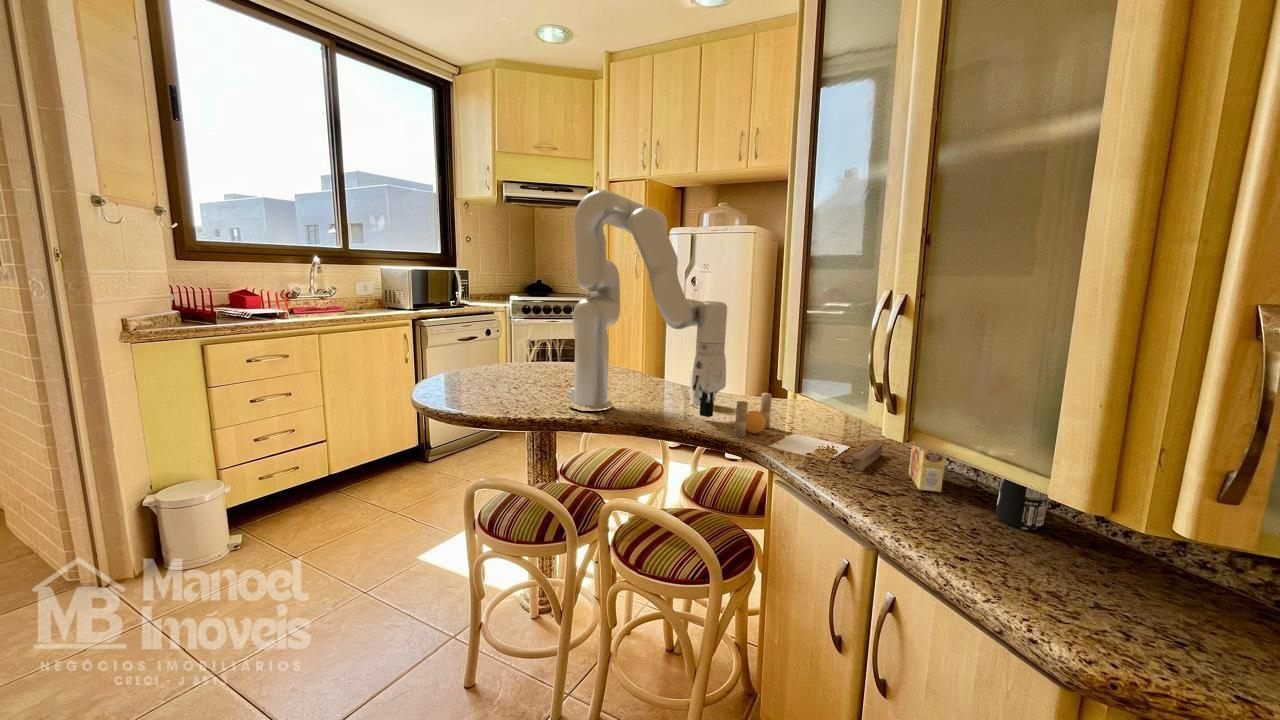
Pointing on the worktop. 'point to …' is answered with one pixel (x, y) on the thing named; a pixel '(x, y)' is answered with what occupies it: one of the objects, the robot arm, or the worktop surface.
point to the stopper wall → (867, 456)
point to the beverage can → (1020, 506)
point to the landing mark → (806, 445)
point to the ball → (755, 422)
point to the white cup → (693, 399)
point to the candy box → (926, 469)
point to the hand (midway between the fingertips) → (706, 415)
